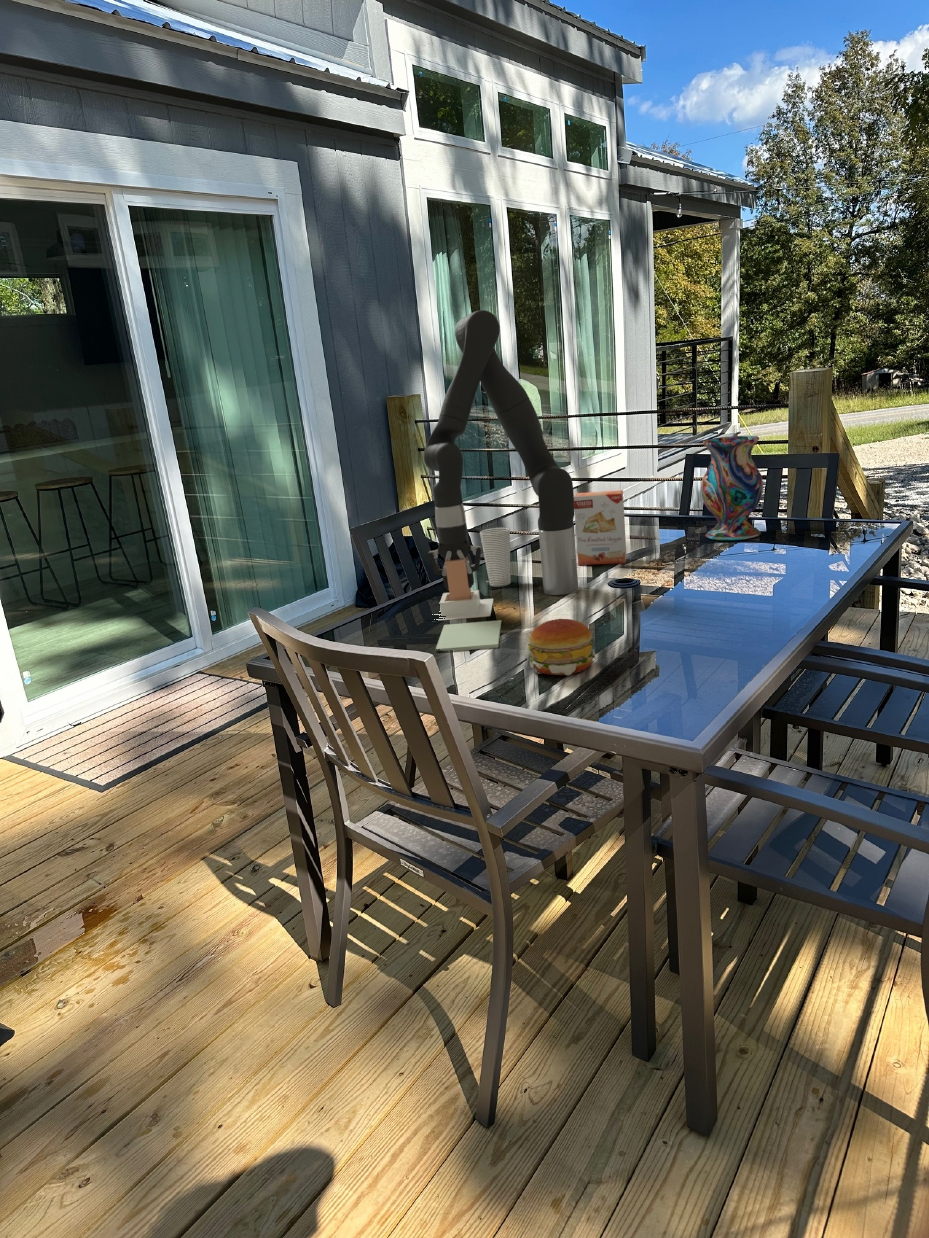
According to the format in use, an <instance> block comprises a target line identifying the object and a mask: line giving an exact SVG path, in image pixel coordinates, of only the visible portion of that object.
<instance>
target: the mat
mask: <svg viewBox="0 0 929 1238" xmlns="http://www.w3.org/2000/svg"><path fill="white" fill-rule="evenodd" d="M501 626H502V619H498V620H488V621H486V620H485V621H476V622H474V621H473V622H464V623H452V624H450V623H449V624H444V625H443V627H442V630H441V633H440V636H439V638H438V641H437V644H436V646H435V650H436V649H437V650H438V649H440V650H460V651H469V650H470V651H471V650H473V651H474V650H484V649H485V650H487V649H496V648H497V649H498V648H499V644H500V637H501V628H502V627H501Z"/></svg>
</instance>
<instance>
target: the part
mask: <svg viewBox="0 0 929 1238" xmlns="http://www.w3.org/2000/svg"><path fill="white" fill-rule="evenodd" d="M444 563H445V564H446V572H447V580H448V587H449V590H448V591H449V592H448V593H449V595H450V601H455V600H467V599H472V597H471V591H472V590H471V589H472V588H469V584H468V576H467V574H468V572H467V568H466V562H465V559H463V560H460V559H458V560H450V561H445V560H444Z"/></svg>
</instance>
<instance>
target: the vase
mask: <svg viewBox="0 0 929 1238" xmlns="http://www.w3.org/2000/svg"><path fill="white" fill-rule="evenodd" d="M759 440H760V437H759V436H757V435H734V436H733V435H730V436H722V437H715V438H709V439H705V440H703V442H702V445H704V446H705V448H706V449H707V450H708V451H709V454H710V459H711V461H710V463H709V465H708V467H707V469H706V471H705V473H704V475H703V477H702V479H701V487H700V490H701V498H702V500H703V504H704V505H705V506H706V508H707V510H708V511H709V512H710V513H711V514H712V515H713V516H714V517H715V519H716V521H717V522H718V523H717V524H716V525H715V526H714V527H713V528H712V529H710V530H708V532H707V533H705V537H706V539H707V538H708V539H711V540H716V541H739V540H741V541H742V540H748V539H753V538H756V537H758V536H760V535H761V534H762V532H761V531H760V530H759V529H758V528H756V527H755V526H753V525H751V524H750V522H749V521H748V519H749V517H750V516H751V515H752V513H753V512H754V511H755V509H756V508H757V507H758V505H759V503H760V502H761V500H762V497H763V492H764V481H763V476H762V474H761V472H760V470H759V468H758V467H757V465H756V463H755V462H754V460H753V458H752V450H753V448H754V447H755V445H756V444H757V442H759Z"/></svg>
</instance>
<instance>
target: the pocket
mask: <svg viewBox="0 0 929 1238" xmlns="http://www.w3.org/2000/svg"><path fill="white" fill-rule="evenodd" d="M471 597H472V599H467V600H455V601H450V595H449V592H443V593H442V596H441V599H440V601H439V602H438V603H439V604H440V611H439V612H441V614H434V615H439V616H440V615H441V616H446V617H439V618H443V619H436V620H438V621H449V620H462V619H473V618H484V617H491V613H492V609H493V605H494V598H484V599H481V597H480V590H479V589H476V590H471ZM432 615H433V614H432ZM444 618H445V619H444ZM434 620H435V619H434Z"/></svg>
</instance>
